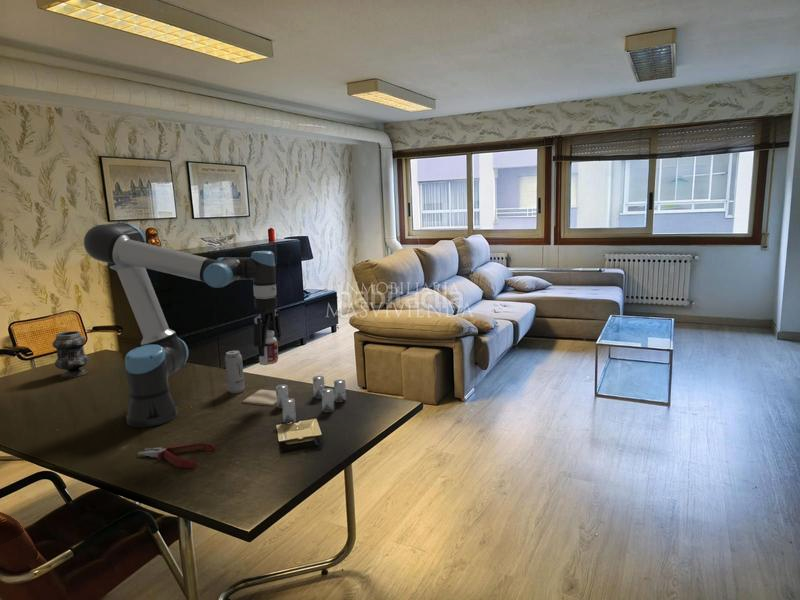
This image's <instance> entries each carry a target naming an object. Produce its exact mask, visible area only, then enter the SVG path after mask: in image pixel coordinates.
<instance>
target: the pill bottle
mask: <svg viewBox="0 0 800 600" xmlns="http://www.w3.org/2000/svg"><path fill="white" fill-rule="evenodd" d="M277 342H278V341H277V339H276V338H275V337H274V331H272V330H268V329H267V334H266V342H265V346H267V360H268V365H273V364H276V363H278V362H279V354H278V355H277ZM268 365H267V366H268Z"/></svg>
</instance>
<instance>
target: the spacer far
mask: <svg viewBox="0 0 800 600" xmlns="http://www.w3.org/2000/svg"><path fill="white" fill-rule="evenodd" d="M312 389H313V391H312V392H313V398H314V397H322V393H321V390H323V389H326V388H325V376H323V375H314V376H313V377H312Z"/></svg>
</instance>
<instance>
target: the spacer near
mask: <svg viewBox="0 0 800 600" xmlns="http://www.w3.org/2000/svg"><path fill="white" fill-rule="evenodd" d="M281 409H282V421H283V424H285V423H290V422H295V423H296V422H297V415H296V414H297V413H296V400H295V398H289V397H288V398H287V399H284V400H282V408H281Z"/></svg>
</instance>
